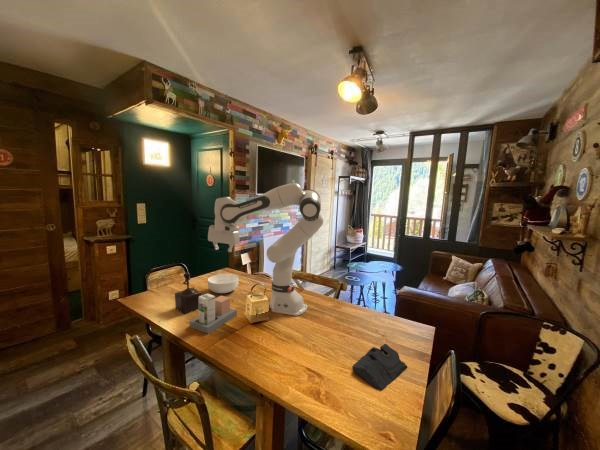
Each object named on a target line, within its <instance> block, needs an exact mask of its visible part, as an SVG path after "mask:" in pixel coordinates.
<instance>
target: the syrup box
mask: <svg viewBox="0 0 600 450" xmlns="http://www.w3.org/2000/svg"><path fill="white" fill-rule="evenodd" d="M215 298H216V296H215V295H213V294H210V293H205V294H201V296H199V309H198V317H199V323H200V324H203V325H206V326H207V325H208V324H210V323H212V322H213V321H215Z"/></svg>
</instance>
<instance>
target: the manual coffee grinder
mask: <svg viewBox="0 0 600 450" xmlns="http://www.w3.org/2000/svg"><path fill="white" fill-rule="evenodd" d="M182 277H184V279H185V280H184V281H183V282H182V285H186V289H183V290H181V291H177V292H175V293H174V302H175V310H177V309H178V310H179V311H178V310H177V311H178V312H180V311H181V312H182V313H181V312H180V313H181V314H183V313H184V314H183V315H187V314H189V312H190V313H192V312H191V311H193V312H195V311H197V310H196V309H198V310H199V296H201V295H202V292H201V291H200V290H198V289H196V288H195V287H194V286H193V287H190V286H189V284H190V281H191V279H190V277H191V273H190V272H185V273H183V276H182ZM194 310H195V311H194ZM186 313H187V314H186Z"/></svg>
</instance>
